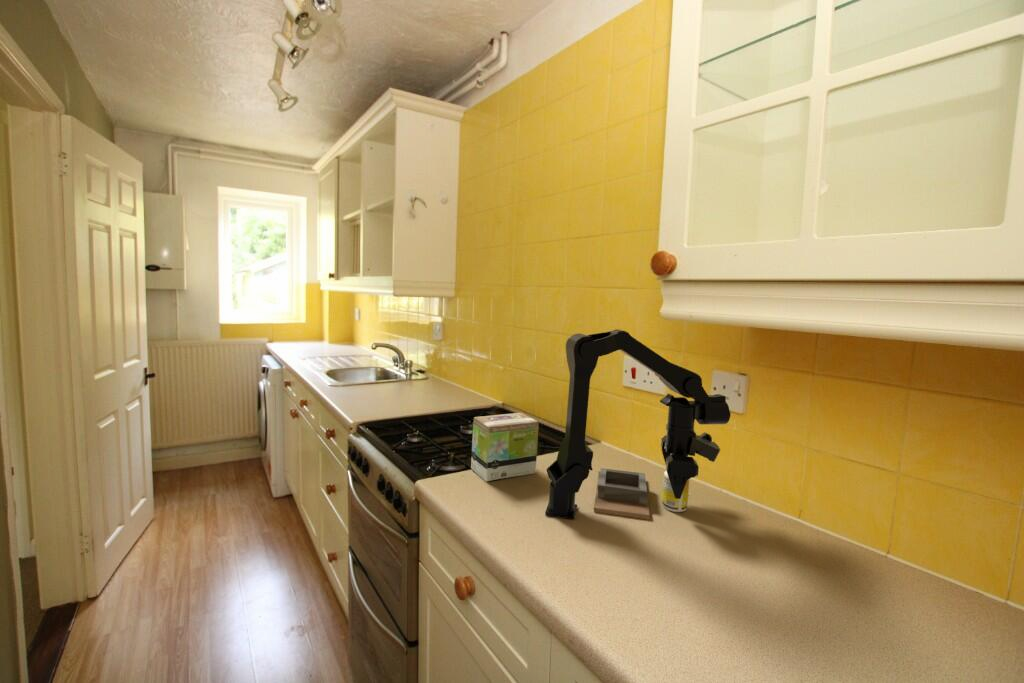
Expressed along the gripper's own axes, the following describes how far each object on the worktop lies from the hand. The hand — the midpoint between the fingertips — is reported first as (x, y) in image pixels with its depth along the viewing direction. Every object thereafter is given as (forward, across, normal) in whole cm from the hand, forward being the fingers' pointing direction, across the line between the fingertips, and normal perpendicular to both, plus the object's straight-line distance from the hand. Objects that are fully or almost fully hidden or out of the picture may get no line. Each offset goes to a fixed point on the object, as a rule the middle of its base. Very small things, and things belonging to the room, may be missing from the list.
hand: (675, 489), depth 108 cm
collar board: (+4, +3, +12) cm, 13 cm away
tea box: (+5, +8, +43) cm, 44 cm away
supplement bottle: (+4, 0, 0) cm, 5 cm away
